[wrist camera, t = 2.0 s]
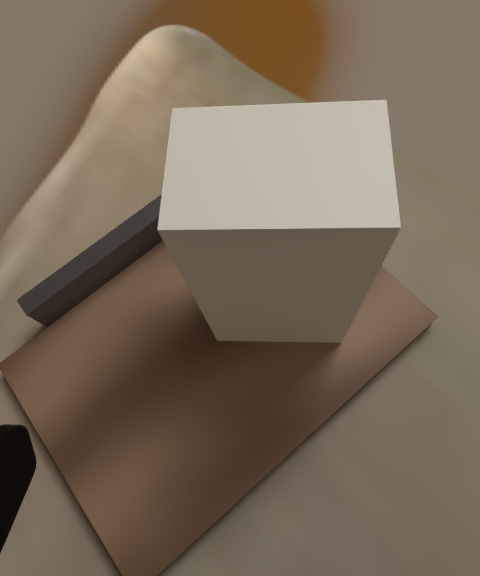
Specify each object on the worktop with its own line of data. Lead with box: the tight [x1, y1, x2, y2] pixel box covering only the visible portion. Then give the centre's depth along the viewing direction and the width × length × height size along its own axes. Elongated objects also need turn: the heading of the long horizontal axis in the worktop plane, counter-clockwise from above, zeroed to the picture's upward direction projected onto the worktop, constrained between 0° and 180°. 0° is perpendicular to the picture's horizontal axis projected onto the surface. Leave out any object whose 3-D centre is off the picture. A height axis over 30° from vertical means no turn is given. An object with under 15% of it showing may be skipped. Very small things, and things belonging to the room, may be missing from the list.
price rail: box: [17, 194, 163, 327], centre depth 23 cm, size 1×14×3 cm, turn 130°
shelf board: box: [0, 241, 438, 576], centre depth 22 cm, size 12×18×1 cm
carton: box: [157, 100, 401, 343], centre depth 16 cm, size 4×6×11 cm
